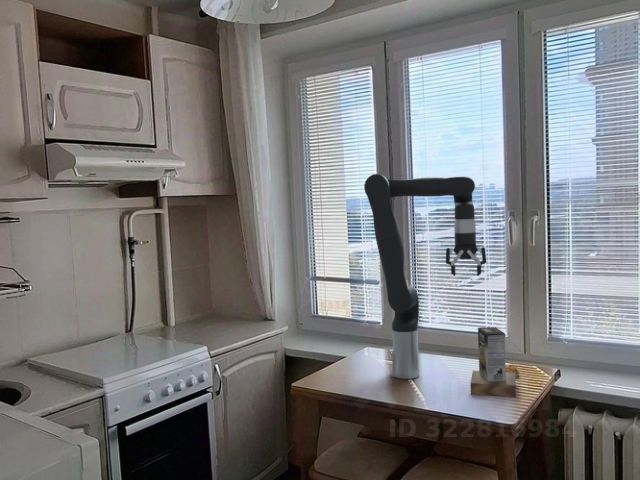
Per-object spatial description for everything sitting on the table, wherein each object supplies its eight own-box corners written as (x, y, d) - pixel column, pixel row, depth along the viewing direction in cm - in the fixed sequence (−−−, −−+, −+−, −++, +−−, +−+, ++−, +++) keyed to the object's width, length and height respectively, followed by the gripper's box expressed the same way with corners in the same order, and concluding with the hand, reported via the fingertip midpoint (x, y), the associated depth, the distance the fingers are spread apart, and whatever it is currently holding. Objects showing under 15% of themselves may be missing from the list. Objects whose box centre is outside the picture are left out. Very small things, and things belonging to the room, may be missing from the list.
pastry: (510, 382, 194) (510, 371, 193) (491, 379, 198) (491, 369, 198) (520, 375, 201) (520, 365, 201) (502, 373, 205) (502, 362, 205)
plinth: (470, 395, 182) (470, 383, 182) (473, 381, 196) (472, 370, 195) (516, 397, 178) (515, 385, 178) (515, 384, 191) (515, 372, 191)
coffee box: (478, 373, 191) (477, 327, 190) (497, 372, 191) (495, 326, 191) (487, 382, 182) (485, 333, 181) (506, 381, 182) (505, 332, 181)
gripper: (444, 232, 202) (445, 277, 203) (484, 231, 198) (486, 276, 199) (446, 231, 209) (447, 274, 210) (485, 230, 205) (486, 274, 206)
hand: (466, 275), depth 205 cm, fingers open, 8 cm apart
